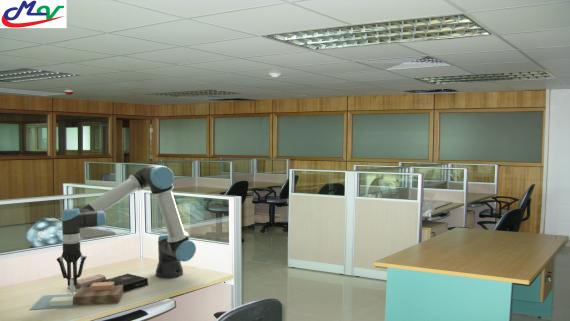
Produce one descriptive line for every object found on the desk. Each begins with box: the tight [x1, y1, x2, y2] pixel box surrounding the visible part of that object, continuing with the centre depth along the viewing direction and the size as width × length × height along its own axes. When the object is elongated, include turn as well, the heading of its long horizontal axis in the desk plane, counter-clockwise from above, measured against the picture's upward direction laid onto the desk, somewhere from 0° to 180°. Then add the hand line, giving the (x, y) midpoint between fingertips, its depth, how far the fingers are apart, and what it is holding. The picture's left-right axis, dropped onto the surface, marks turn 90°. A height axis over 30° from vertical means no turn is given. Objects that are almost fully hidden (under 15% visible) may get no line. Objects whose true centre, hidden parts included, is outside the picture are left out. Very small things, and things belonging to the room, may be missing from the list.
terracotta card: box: [90, 282, 114, 291], centre depth 239 cm, size 10×6×2 cm, turn 100°
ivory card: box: [50, 296, 74, 306], centre depth 228 cm, size 10×6×2 cm, turn 99°
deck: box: [73, 285, 124, 307], centre depth 235 cm, size 20×15×4 cm
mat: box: [29, 293, 76, 311], centre depth 232 cm, size 18×20×1 cm
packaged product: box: [67, 273, 107, 293], centre depth 256 cm, size 18×5×10 cm
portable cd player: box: [101, 273, 149, 294], centre depth 256 cm, size 16×17×4 cm
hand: (72, 292), depth 229 cm, fingers closed
